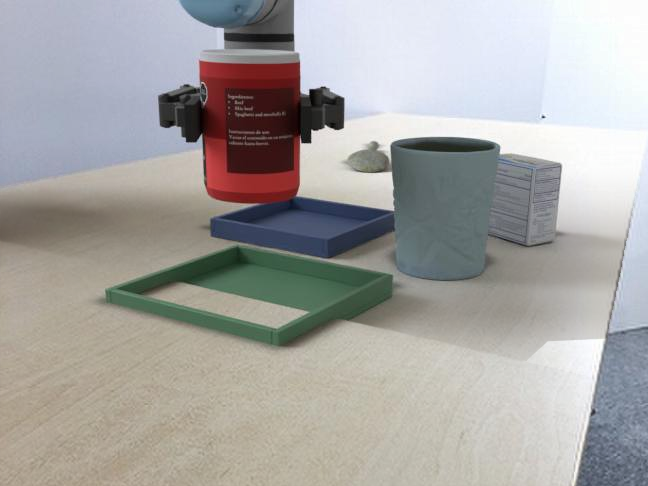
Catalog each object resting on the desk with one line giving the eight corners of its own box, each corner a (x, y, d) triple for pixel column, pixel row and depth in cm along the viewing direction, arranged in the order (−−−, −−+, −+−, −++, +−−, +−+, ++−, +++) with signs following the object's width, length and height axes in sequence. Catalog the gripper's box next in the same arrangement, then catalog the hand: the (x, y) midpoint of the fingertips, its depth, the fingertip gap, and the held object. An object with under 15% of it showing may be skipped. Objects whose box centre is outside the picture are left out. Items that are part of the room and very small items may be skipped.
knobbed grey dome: (344, 175, 131) (386, 179, 131) (345, 153, 130) (388, 157, 129) (355, 148, 151) (392, 151, 151) (357, 129, 150) (394, 132, 149)
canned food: (246, 181, 74) (243, 48, 70) (320, 193, 70) (321, 52, 66) (183, 195, 68) (176, 50, 64) (259, 209, 64) (257, 55, 60)
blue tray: (210, 236, 93) (209, 218, 92) (289, 210, 105) (289, 194, 104) (327, 258, 86) (328, 239, 85) (398, 228, 98) (399, 211, 97)
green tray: (106, 312, 70) (104, 289, 69) (237, 263, 83) (236, 244, 83) (278, 358, 61) (278, 332, 61) (392, 296, 75) (393, 274, 74)
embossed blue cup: (504, 281, 80) (516, 151, 75) (398, 284, 78) (404, 152, 74) (470, 252, 89) (479, 135, 85) (376, 254, 87) (380, 135, 83)
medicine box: (555, 242, 93) (565, 162, 90) (527, 247, 91) (535, 166, 88) (504, 227, 100) (511, 152, 96) (476, 231, 97) (482, 155, 94)
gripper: (361, 134, 86) (386, 176, 64) (153, 132, 84) (109, 174, 63) (363, 55, 83) (390, 72, 62) (148, 52, 82) (101, 68, 60)
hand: (248, 124), depth 62 cm, fingers closed on canned food, 8 cm apart
